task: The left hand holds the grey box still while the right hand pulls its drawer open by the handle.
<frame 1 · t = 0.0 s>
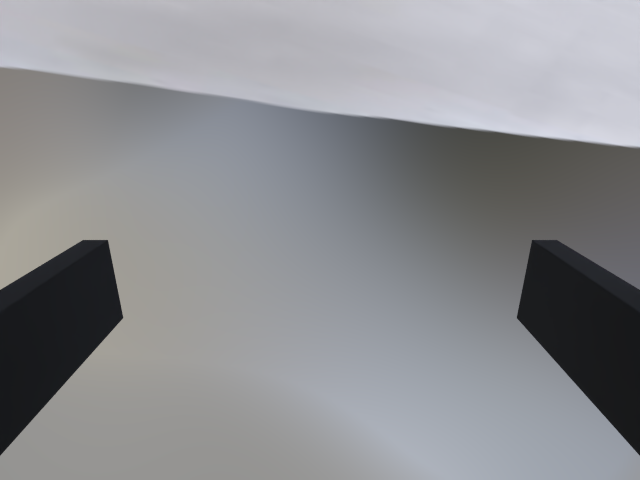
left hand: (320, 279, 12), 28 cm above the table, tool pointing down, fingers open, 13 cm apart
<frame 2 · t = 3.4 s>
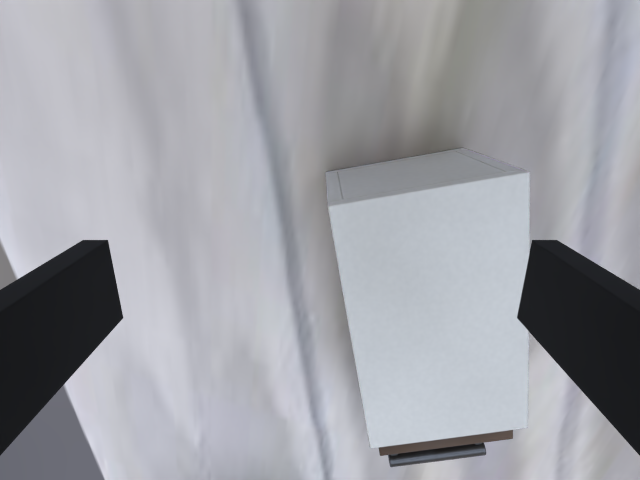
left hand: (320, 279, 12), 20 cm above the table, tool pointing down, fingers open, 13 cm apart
grey box: (405, 262, 33), on the table
drawer: (425, 351, 31), point 5 cm above the table, slide at 0.7 cm
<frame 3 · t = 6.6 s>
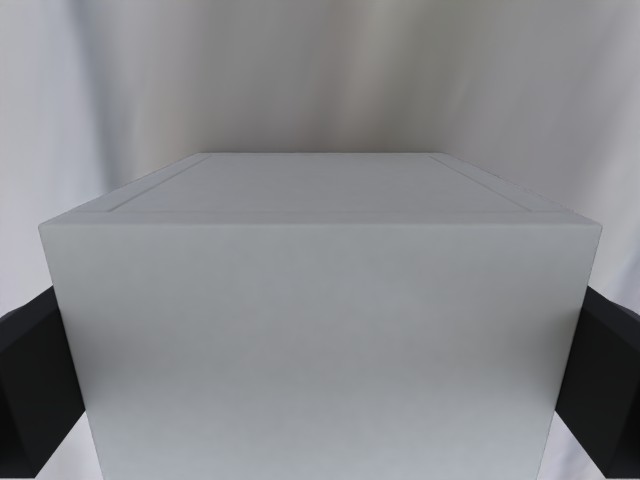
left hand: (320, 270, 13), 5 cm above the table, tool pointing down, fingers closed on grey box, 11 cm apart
grey box: (319, 327, 20), on the table, touching left hand
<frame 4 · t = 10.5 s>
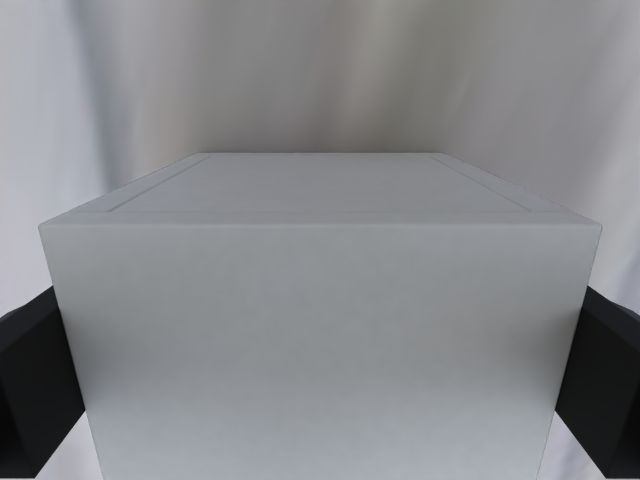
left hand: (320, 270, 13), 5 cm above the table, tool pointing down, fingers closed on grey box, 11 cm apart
grey box: (319, 327, 20), on the table, touching left hand
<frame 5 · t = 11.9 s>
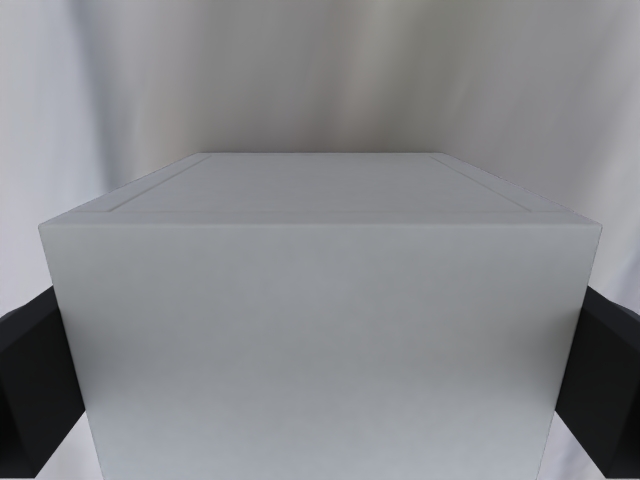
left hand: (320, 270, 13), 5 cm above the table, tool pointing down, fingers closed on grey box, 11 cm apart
grey box: (319, 327, 20), on the table, touching left hand
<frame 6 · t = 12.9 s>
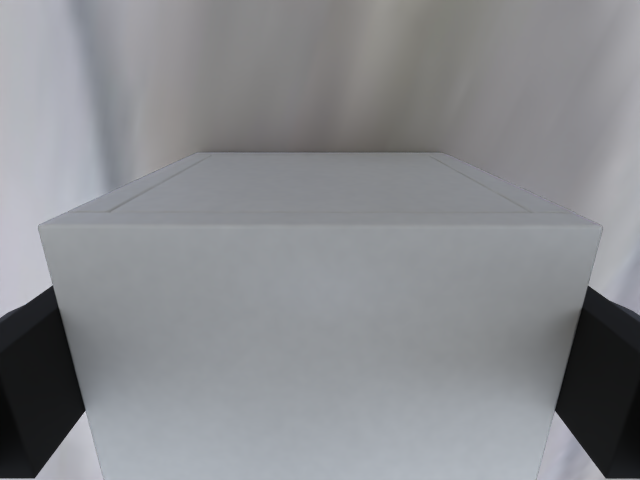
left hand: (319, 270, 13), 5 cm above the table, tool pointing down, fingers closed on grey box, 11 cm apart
grey box: (319, 327, 20), on the table, touching left hand
when the left hand's fingers open (5 cm above the table, at t = 14.8 s): grey box stays where it is, on the table.
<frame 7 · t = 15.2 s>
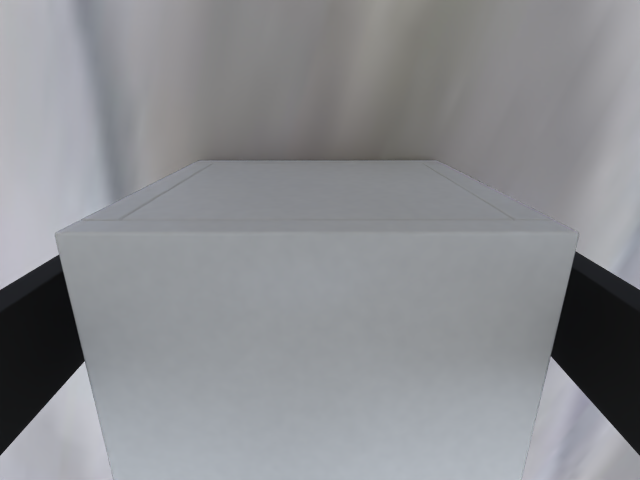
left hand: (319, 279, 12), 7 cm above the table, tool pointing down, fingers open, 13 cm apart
grey box: (318, 330, 21), on the table
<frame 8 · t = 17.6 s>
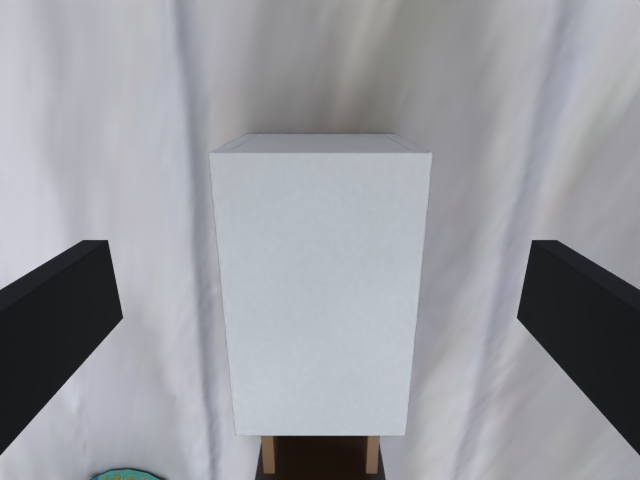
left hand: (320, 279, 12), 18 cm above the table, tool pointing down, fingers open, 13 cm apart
grey box: (320, 247, 31), on the table
drawer: (320, 402, 30), point 5 cm above the table, slide at 6.2 cm
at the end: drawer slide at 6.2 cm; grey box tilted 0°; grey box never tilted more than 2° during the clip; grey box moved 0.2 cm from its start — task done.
